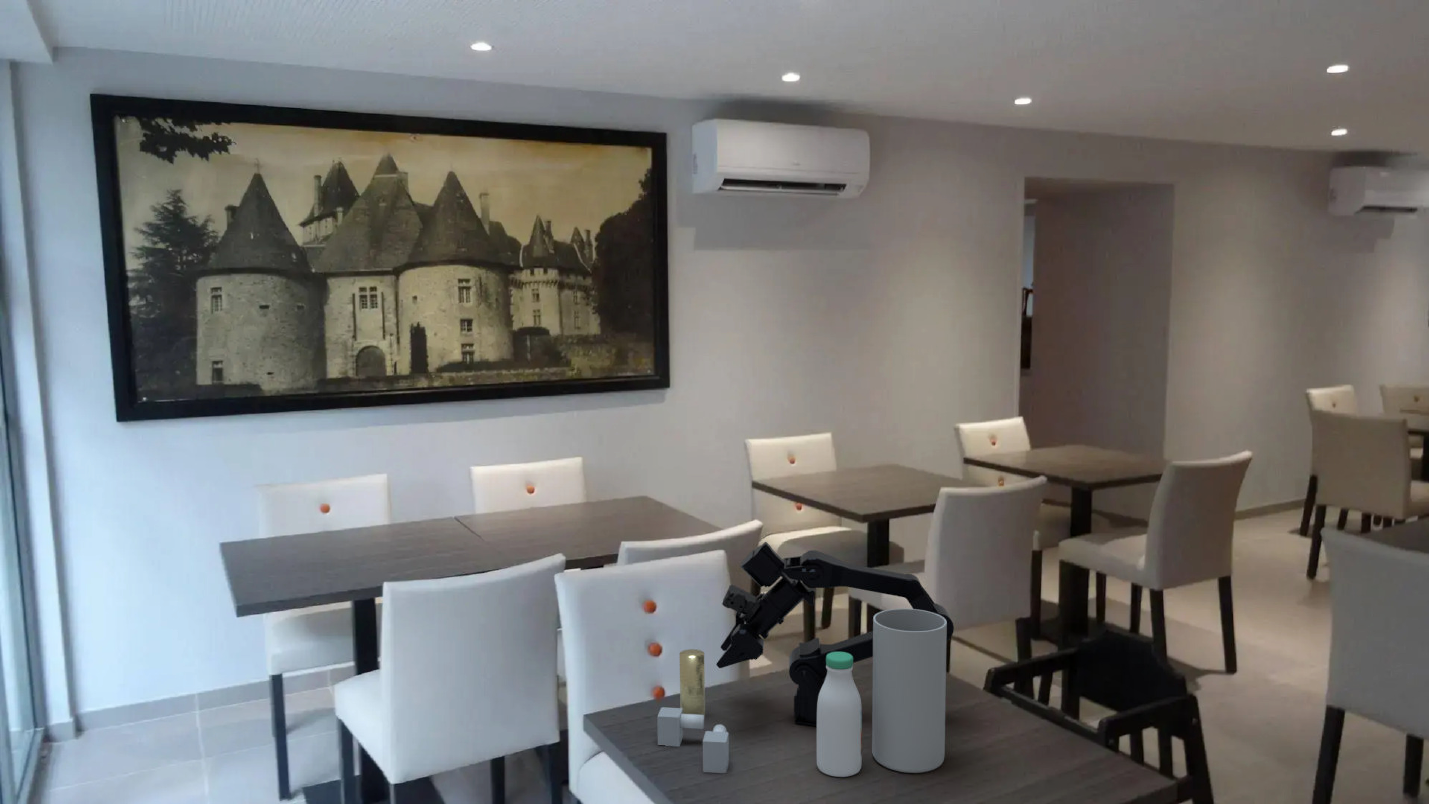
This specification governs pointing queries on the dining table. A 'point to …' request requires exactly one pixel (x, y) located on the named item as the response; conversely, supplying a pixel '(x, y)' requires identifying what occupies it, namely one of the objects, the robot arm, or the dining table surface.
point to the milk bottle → (839, 719)
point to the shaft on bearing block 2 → (716, 750)
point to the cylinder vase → (909, 689)
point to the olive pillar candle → (692, 682)
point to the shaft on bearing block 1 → (675, 725)
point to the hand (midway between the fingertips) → (720, 657)
